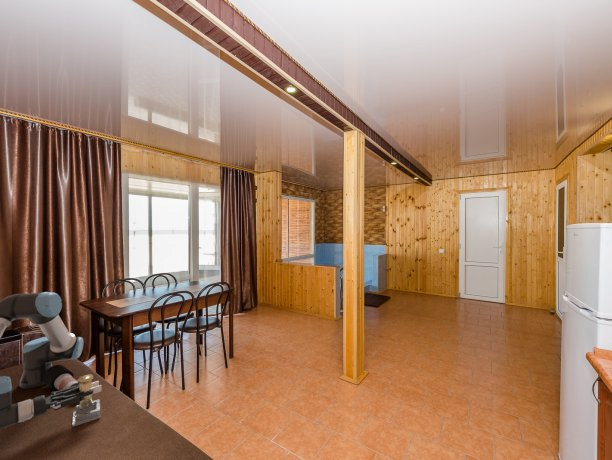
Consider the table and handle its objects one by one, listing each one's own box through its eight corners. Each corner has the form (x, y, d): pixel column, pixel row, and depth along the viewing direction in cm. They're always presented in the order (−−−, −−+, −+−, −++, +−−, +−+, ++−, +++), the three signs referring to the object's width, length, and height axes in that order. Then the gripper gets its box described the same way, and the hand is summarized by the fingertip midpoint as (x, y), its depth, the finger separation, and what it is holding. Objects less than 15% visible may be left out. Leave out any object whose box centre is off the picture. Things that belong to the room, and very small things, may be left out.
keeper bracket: (73, 413, 138) (73, 406, 138) (99, 405, 144) (99, 398, 143) (72, 426, 129) (72, 419, 129) (100, 417, 135) (100, 410, 135)
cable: (80, 413, 145) (69, 401, 140) (48, 387, 160) (38, 376, 156) (100, 395, 152) (91, 383, 147) (68, 372, 168) (58, 360, 163)
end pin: (78, 404, 136) (77, 376, 136) (93, 400, 140) (93, 373, 139) (78, 411, 132) (77, 382, 131) (93, 406, 135) (93, 378, 135)
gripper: (31, 407, 129) (95, 386, 146) (34, 427, 117) (104, 401, 133) (30, 390, 129) (95, 371, 145) (34, 408, 117) (104, 384, 133)
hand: (99, 385), depth 139 cm, fingers closed on end pin, 4 cm apart
